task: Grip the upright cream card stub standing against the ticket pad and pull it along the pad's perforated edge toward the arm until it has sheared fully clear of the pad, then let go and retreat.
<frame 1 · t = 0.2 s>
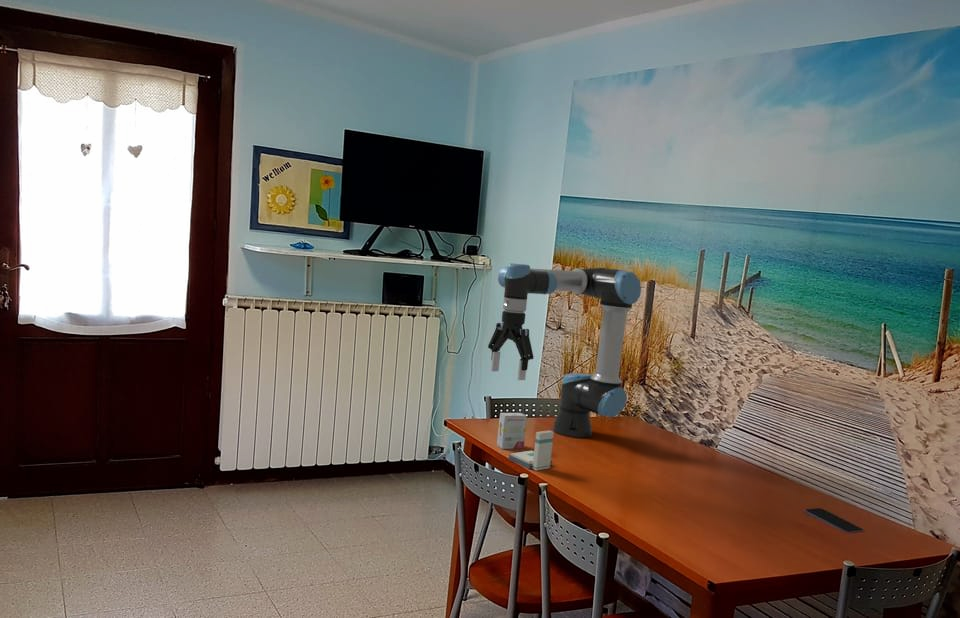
hand: (507, 375, 230), 28 cm above the table, fingers open, 13 cm apart
smartphone: (832, 523, 204), on the table
ink box: (510, 447, 246), on the table
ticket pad: (530, 462, 231), on the table
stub: (543, 450, 224), point 6 cm above the table, slide at 0.0 cm
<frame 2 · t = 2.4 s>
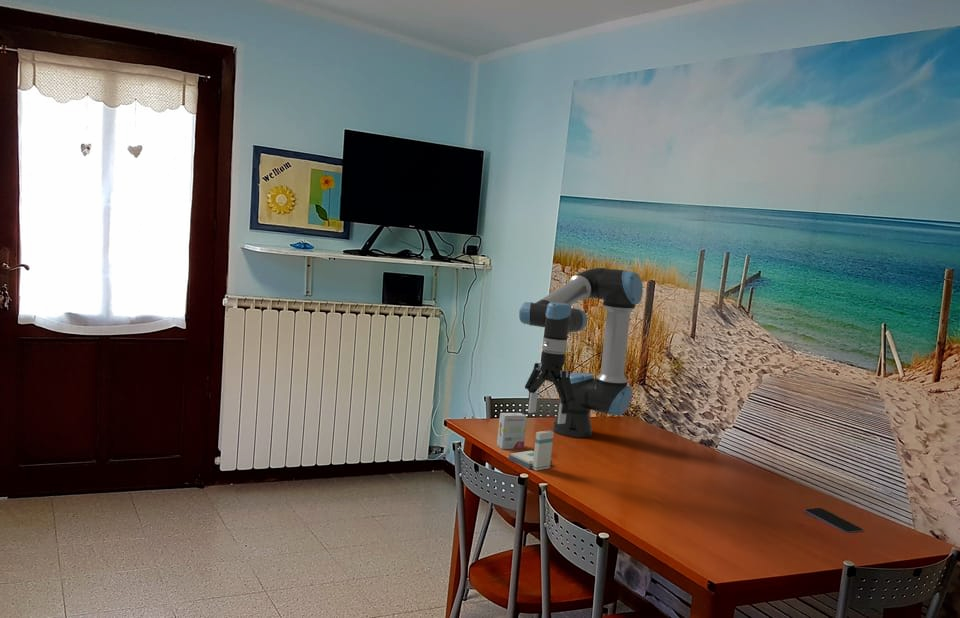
hand: (546, 417, 223), 17 cm above the table, fingers open, 13 cm apart
nothing on the table moved.
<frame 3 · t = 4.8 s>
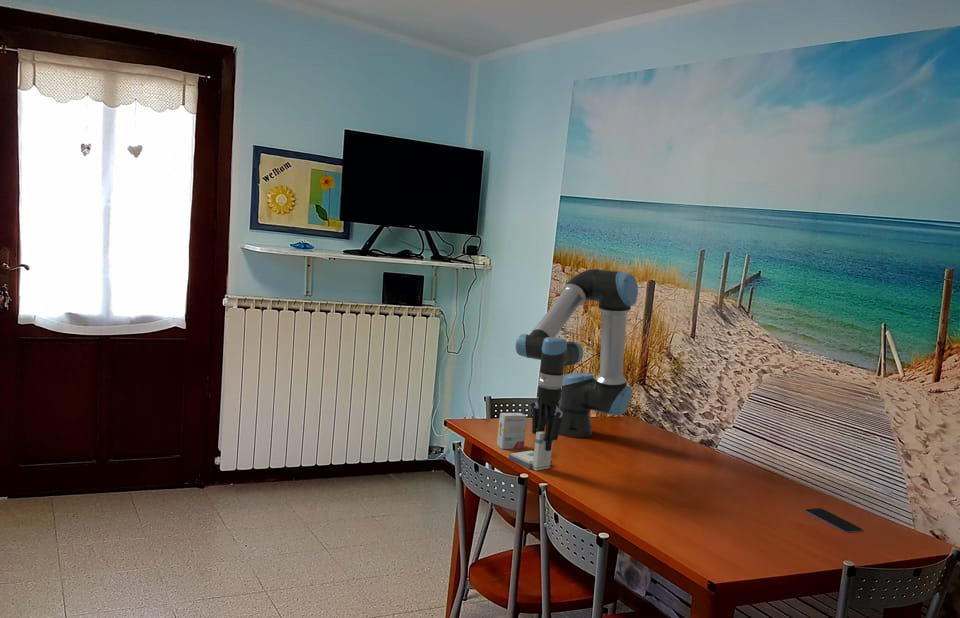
hand: (542, 458, 225), 3 cm above the table, fingers closed on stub, 2 cm apart
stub: (543, 450, 224), point 6 cm above the table, slide at 0.0 cm, touching gripper
everything else where it was.
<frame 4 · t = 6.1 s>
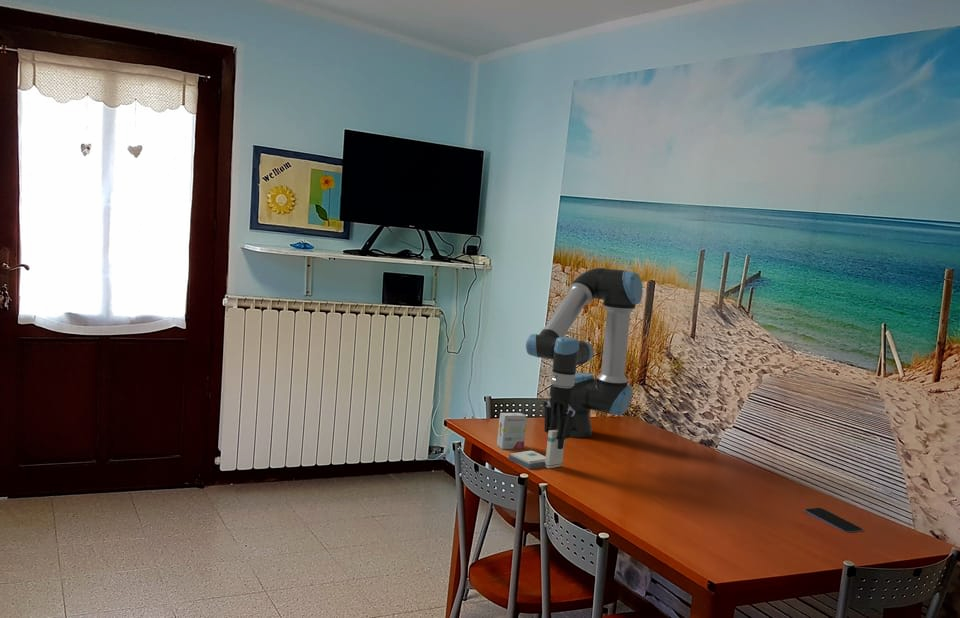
hand: (554, 456, 228), 3 cm above the table, fingers closed on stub, 2 cm apart
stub: (555, 448, 228), point 6 cm above the table, slide at 5.4 cm, touching gripper
everything else where it was.
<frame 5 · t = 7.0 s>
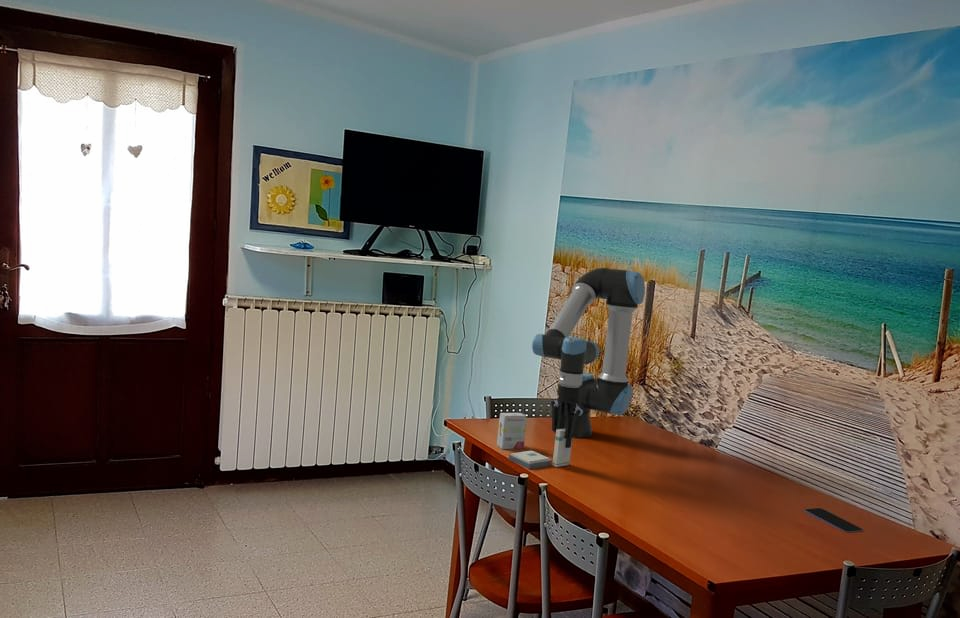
hand: (561, 455, 230), 3 cm above the table, fingers closed on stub, 2 cm apart
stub: (562, 447, 230), point 6 cm above the table, slide at 8.9 cm, touching gripper
everything else where it was.
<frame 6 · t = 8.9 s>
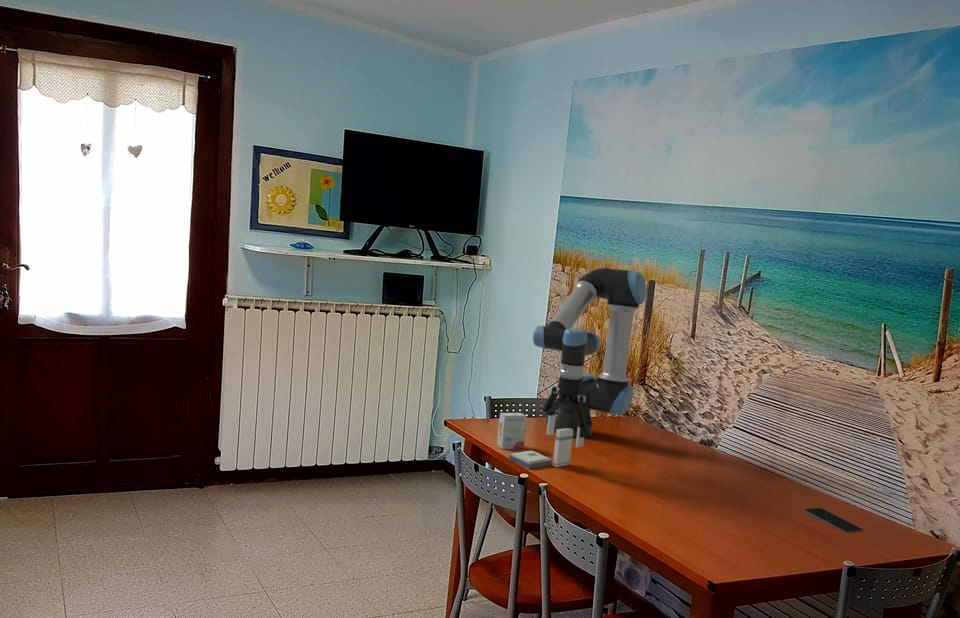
hand: (564, 440, 230), 8 cm above the table, fingers open, 13 cm apart
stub: (563, 447, 230), point 6 cm above the table, slide at 9.0 cm
everything else where it was.
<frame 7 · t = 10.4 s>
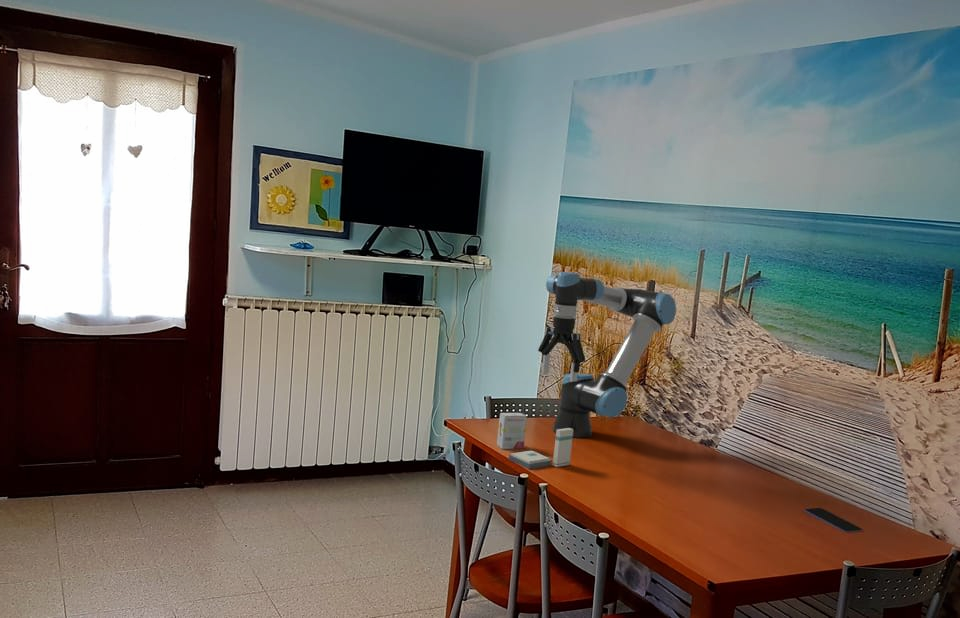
hand: (559, 377, 246), 26 cm above the table, fingers open, 13 cm apart
nothing on the table moved.
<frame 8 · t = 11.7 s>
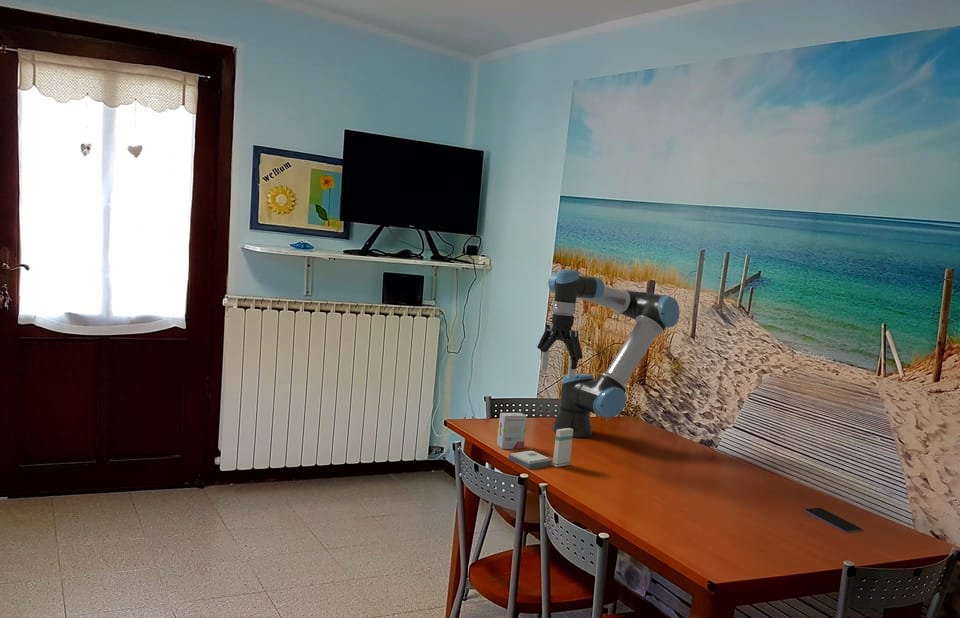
hand: (556, 373, 247), 27 cm above the table, fingers open, 13 cm apart
nothing on the table moved.
at the end: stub slide at 9.0 cm; the gripper is holding nothing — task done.
